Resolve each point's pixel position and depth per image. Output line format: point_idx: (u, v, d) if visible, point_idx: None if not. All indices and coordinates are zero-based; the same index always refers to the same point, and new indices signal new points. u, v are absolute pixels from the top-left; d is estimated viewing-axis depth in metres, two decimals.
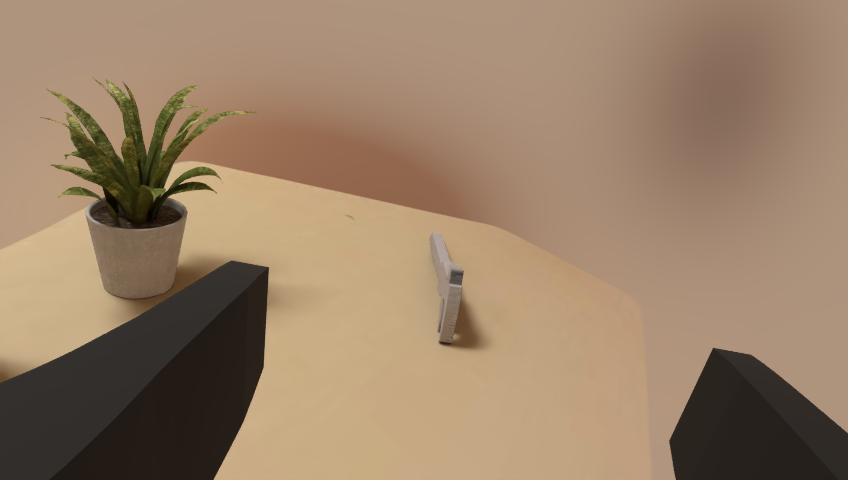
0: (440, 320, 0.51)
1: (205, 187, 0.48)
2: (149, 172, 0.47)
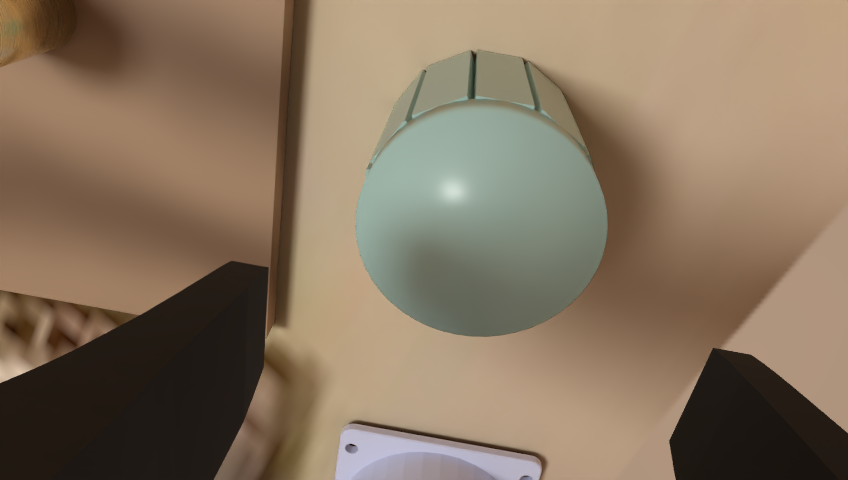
0: None
1: None
2: None
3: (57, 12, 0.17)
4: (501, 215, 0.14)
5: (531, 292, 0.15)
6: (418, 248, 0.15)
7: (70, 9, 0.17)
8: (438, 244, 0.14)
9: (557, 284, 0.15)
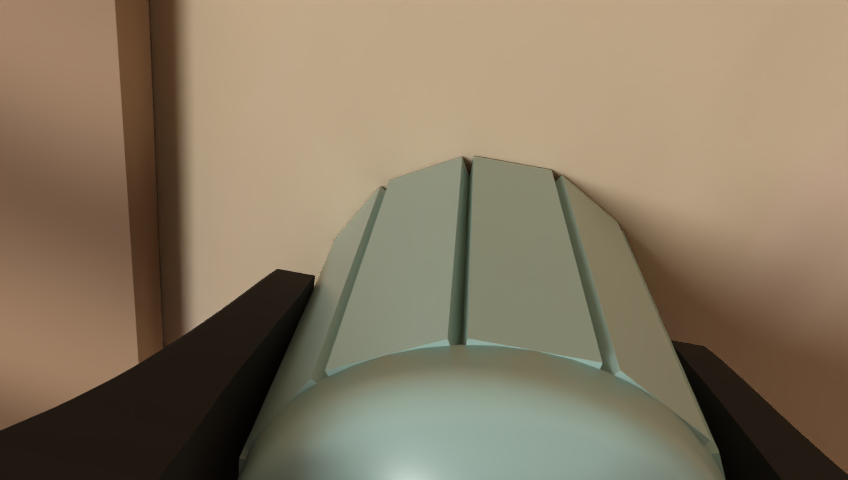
0: None
1: None
2: None
3: None
4: None
5: None
6: None
7: None
8: None
9: None
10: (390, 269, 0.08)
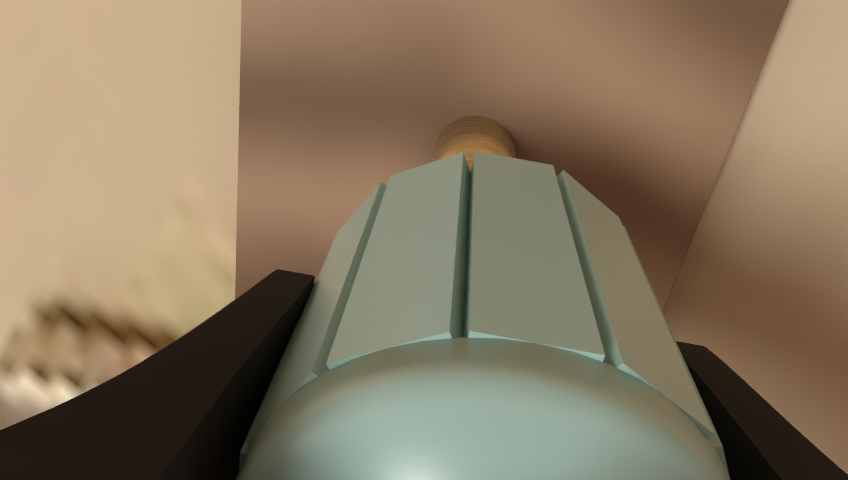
0: None
1: None
2: None
3: None
4: None
5: None
6: None
7: None
8: None
9: None
10: (391, 263, 0.08)
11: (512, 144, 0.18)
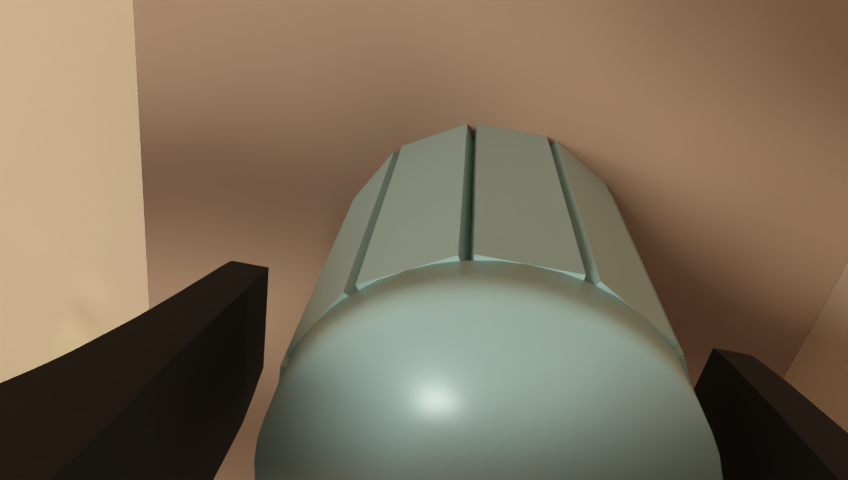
0: None
1: None
2: None
3: None
4: (522, 474, 0.08)
5: None
6: None
7: None
8: None
9: None
10: (407, 211, 0.09)
11: None
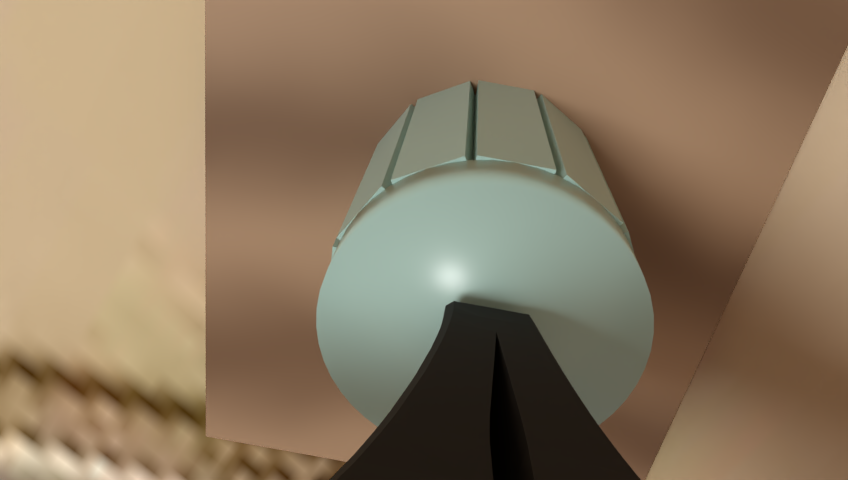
0: None
1: None
2: None
3: None
4: None
5: None
6: (400, 354, 0.11)
7: None
8: (426, 350, 0.11)
9: (583, 400, 0.11)
10: (425, 137, 0.12)
11: None
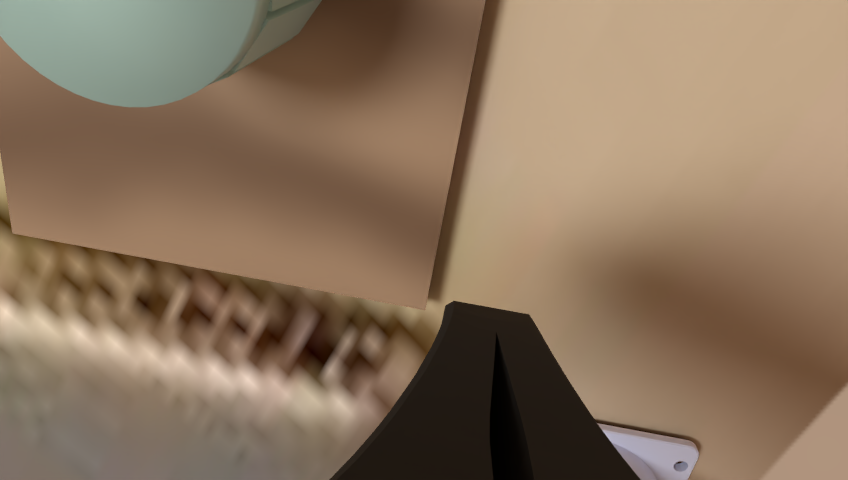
0: None
1: None
2: None
3: None
4: None
5: (184, 38, 0.12)
6: None
7: None
8: None
9: (212, 25, 0.12)
10: None
11: None
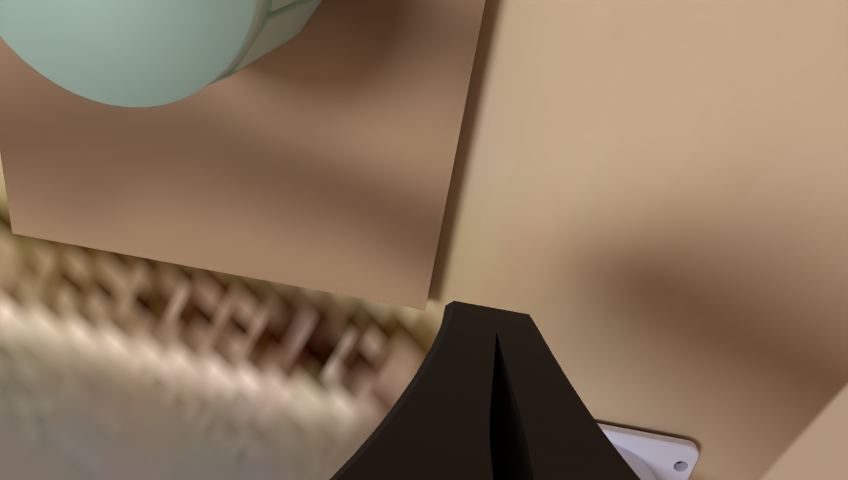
0: None
1: None
2: None
3: None
4: None
5: (184, 38, 0.12)
6: None
7: None
8: None
9: (212, 25, 0.12)
10: None
11: None
